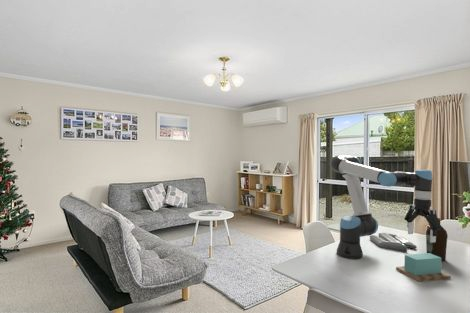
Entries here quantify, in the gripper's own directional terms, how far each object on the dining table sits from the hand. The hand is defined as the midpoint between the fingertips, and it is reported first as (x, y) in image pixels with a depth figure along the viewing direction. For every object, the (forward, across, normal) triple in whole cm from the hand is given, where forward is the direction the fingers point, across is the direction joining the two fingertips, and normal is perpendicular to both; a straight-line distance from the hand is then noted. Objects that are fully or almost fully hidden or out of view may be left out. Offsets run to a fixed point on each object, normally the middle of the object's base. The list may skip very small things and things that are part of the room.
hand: (421, 237), depth 144 cm
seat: (+19, -2, 0) cm, 19 cm away
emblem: (+20, +42, -21) cm, 51 cm away
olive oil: (+19, +16, -28) cm, 37 cm away
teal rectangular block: (+17, -2, 0) cm, 17 cm away
